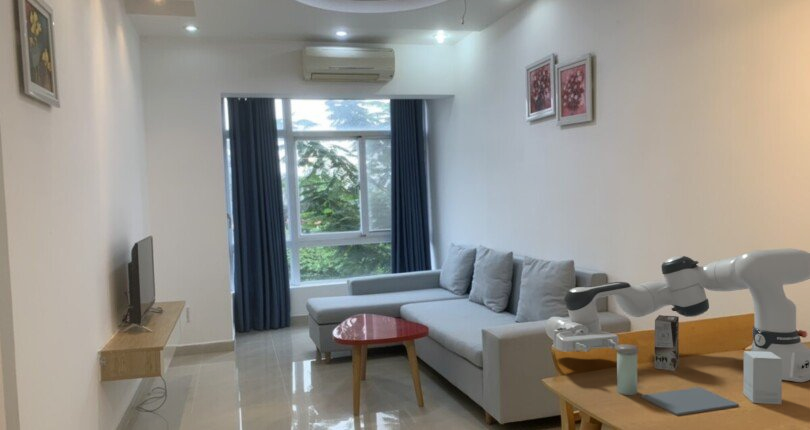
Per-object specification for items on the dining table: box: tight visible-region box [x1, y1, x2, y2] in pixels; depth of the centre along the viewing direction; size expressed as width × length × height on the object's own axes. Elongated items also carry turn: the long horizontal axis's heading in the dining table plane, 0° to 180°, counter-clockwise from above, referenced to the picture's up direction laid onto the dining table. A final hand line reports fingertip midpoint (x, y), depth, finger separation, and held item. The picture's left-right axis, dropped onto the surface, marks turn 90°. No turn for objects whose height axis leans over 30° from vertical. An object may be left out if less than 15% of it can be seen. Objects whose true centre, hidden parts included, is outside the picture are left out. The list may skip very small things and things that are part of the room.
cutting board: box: [640, 386, 740, 416], centre depth 163 cm, size 20×14×1 cm
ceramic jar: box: [615, 343, 639, 396], centre depth 171 cm, size 6×6×13 cm
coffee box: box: [654, 314, 680, 372], centre depth 194 cm, size 9×6×16 cm
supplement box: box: [743, 350, 783, 405], centre depth 163 cm, size 7×7×13 cm
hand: (600, 347), depth 183 cm, fingers open, 8 cm apart
